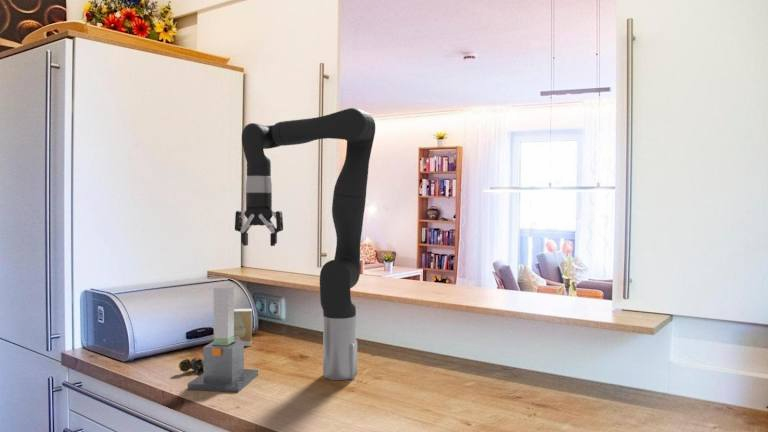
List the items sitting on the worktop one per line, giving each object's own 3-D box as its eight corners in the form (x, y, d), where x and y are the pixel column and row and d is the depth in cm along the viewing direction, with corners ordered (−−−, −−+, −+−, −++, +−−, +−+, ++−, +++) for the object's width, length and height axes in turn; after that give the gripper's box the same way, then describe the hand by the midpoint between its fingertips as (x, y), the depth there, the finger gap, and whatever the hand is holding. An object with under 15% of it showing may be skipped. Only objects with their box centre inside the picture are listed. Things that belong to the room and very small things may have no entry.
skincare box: (232, 347, 185) (232, 311, 185) (233, 343, 190) (233, 308, 189) (251, 346, 187) (251, 310, 186) (252, 342, 191) (252, 308, 190)
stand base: (258, 375, 156) (257, 338, 156) (238, 392, 142) (238, 351, 142) (211, 372, 158) (211, 336, 158) (187, 389, 144) (187, 349, 144)
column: (234, 351, 152) (233, 286, 151) (227, 355, 148) (227, 288, 147) (220, 350, 152) (219, 285, 152) (213, 354, 148) (213, 288, 148)
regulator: (227, 366, 167) (176, 365, 159) (230, 355, 166) (179, 353, 158) (232, 381, 161) (179, 380, 153) (235, 369, 160) (182, 368, 152)
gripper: (285, 191, 166) (285, 245, 167) (241, 191, 168) (241, 244, 169) (277, 191, 159) (277, 247, 160) (230, 191, 161) (231, 246, 161)
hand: (259, 245), depth 164 cm, fingers open, 8 cm apart
